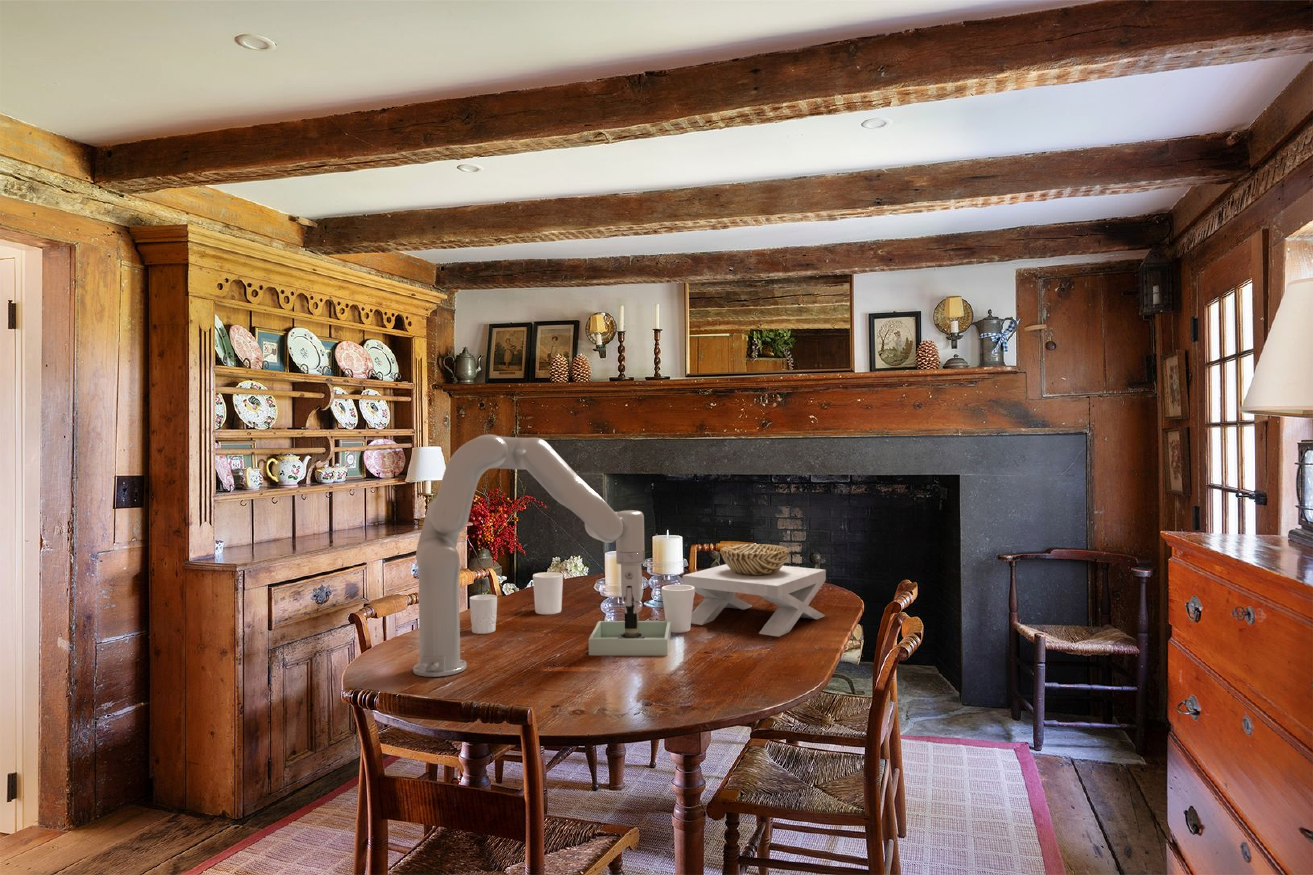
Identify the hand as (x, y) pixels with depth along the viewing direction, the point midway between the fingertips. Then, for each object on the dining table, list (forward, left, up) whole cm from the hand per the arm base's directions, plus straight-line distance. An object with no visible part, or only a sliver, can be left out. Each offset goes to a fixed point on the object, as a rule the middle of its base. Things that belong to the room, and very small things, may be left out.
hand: (631, 625), depth 212 cm
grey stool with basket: (+35, -35, -6) cm, 50 cm away
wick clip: (0, 0, -5) cm, 5 cm away
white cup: (+19, +45, -6) cm, 49 cm away
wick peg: (0, 0, -3) cm, 3 cm away
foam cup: (+17, -12, -6) cm, 22 cm away
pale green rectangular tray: (0, 0, -6) cm, 6 cm away
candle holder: (+45, +31, -6) cm, 55 cm away
